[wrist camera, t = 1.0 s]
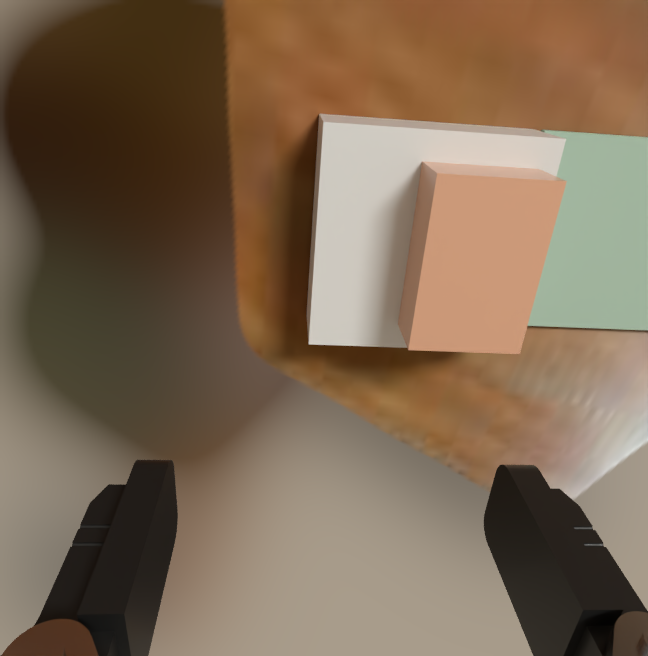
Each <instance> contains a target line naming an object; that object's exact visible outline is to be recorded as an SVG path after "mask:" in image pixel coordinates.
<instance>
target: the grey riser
mask: <svg viewBox="0 0 648 656" xmlns="http://www.w3.org/2000/svg"><path fill="white" fill-rule="evenodd" d="M565 142H566V139H565V138H562V137H558V136H555V135H551V134H548V133H545V132H541V131H538V130H535V129H525V128H511V127H497V126H483V125H469V124H455V123H441V122H427V121H413V120H399V119H385V118H371V117H357V116H343V115H329V114H319V124H318V139H317V155H316V171H315V187H314V203H313V219H312V235H311V251H310V267H309V283H308V299H307V329H308V343H309V344H312V345H341V346H370V347H399V348H407V346H406V343H405V341H404V338H403V336H402V333H401V331H400V329H399V326H398V319H399V313H400V306H401V299H402V293H403V286H404V279H405V273H406V266H407V259H408V253H409V246H410V239H411V232H412V226H413V219H414V212H415V206H416V199H417V192H418V186H419V179H420V172H421V166H422V161H425V162H440V163H456V164H471V165H487V166H502V167H517V168H533V169H540V170H543V171H545V172H547V173H549V174H552V175H554V176H557V172H558V169H559V165H560V161H561V157H562V153H563V150H564V146H565Z"/></svg>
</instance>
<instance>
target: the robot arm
mask: <svg viewBox="0 0 648 656" xmlns="http://www.w3.org/2000/svg"><path fill="white" fill-rule="evenodd" d="M177 518H178V513H177V499H176V487H175V475H174V464H173V461H172V460H137V461H136V462H135V463H134V466H133V468H132V471H131V474H130V476H129V479H128V481H127V484H126V485H108V486H107V487H106V488H105V489H104V490H103V491H102V492H101V493H100V494H99V495H98V496H97V497H96V498H95V499H94V500H93V501H92V502H91V503H90V504H89V507H88V509H87V511H86V513H85V516H84V518H83V520H82V522H81V526H80V529H78V531H77V533H76V536H75V538H74V540H73V544H72V547H70V549H69V551H68V554H67V556H66V558H65V561H64V563H63V565H62V567H61V569H60V572H59V574H58V576H57V578H56V581H55V583H54V585H53V588H52V590H51V592H50V594H49V596H48V599H47V601H46V603H45V605H44V608H43V610H42V612H41V615H40V617H39V618H38V620H37V622H36V624H35V625H34V626H33V627H32V628H30V629H28V630H27V631H25V632H24V633H22V634H21V635H20V636H19V637H17V638H16V639H15V640H14V641H13V642H12V643H11V644H10V645H9V646H8V647H7V649H6V650H5V651H4V653H3V654H2V655H1V656H148V654H149V650H150V646H151V642H152V637H153V633H154V629H155V625H156V620H157V616H158V612H159V607H160V603H161V599H162V595H163V590H164V586H165V582H166V577H167V573H168V569H169V565H170V561H171V556H172V552H173V548H174V543H175V538H176V532H177ZM484 531H485V536H486V540H487V543H488V546H489V548H490V550H491V553H492V555H493V558H494V560H495V562H496V565H497V568H498V570H499V573H500V575H501V577H502V580H503V582H504V585H505V587H506V590H507V592H508V595H509V597H510V599H511V602H512V604H513V607H514V609H515V612H516V614H517V617H518V619H519V622H520V624H521V626H522V629H523V631H524V634H525V636H526V638H527V641H528V644H529V646H530V648H531V651H532V653H533V655H534V656H648V611H647V610H646V608H645V607H644V605H643V603H642V602H641V600H640V599H639V597H638V596H637V594H636V593H635V591H634V590H633V588H632V586H631V585H630V583H629V582H628V580H627V579H626V577H625V576H624V574H623V573H622V571H621V569H620V568H619V566H618V565H617V563H616V562H615V560H614V559H613V557H612V556H611V554H610V552H609V551H608V549H607V548H606V547H604V546H603V542H602V540H601V539H600V537H599V535H598V534H597V533H596V531H595V530H593V529H592V525H591V523H590V522H589V520H588V519H587V517H586V515H585V514H584V512H583V511H582V509H581V508H580V506H579V505H578V504H576V503H575V502H574V501H573V500H572V499H571V498H569V497H568V496H567V495H566V494H565V493H564V492H563V491H561V490H560V489H550V487H549V485H548V484H547V482H546V481H545V479H544V477H543V476H542V474H541V472H540V471H539V469H538V468H537V467H536V466H534V465H500V466H499V467H498V468H497V471H496V474H495V478H494V481H493V485H492V488H491V492H490V496H489V500H488V503H487V507H486V510H485V515H484Z"/></svg>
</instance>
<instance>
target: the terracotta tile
mask: <svg viewBox="0 0 648 656" xmlns="http://www.w3.org/2000/svg"><path fill="white" fill-rule="evenodd" d="M566 182H567V181H565V180H563V179H560V178H558V177H556V176H554V175H552V174H549V173H547V172H545V171H543V170H540V169H533V168H517V167H502V166H487V165H471V164H456V163H440V162H425V161H422V166H421V172H420V179H419V186H418V192H417V199H416V206H415V212H414V219H413V226H412V232H411V239H410V246H409V253H408V259H407V266H406V273H405V279H404V286H403V293H402V299H401V306H400V313H399V319H398V326H399V329H400V331H401V333H402V336H403V338H404V341H405V343H406V346H407V348H408V350H419V351H448V352H477V353H506V354H520V351H521V347H522V344H523V340H524V336H525V333H526V329H527V325H528V322H529V318H530V314H531V311H532V307H533V303H534V300H535V296H536V292H537V289H538V285H539V281H540V278H541V274H542V270H543V267H544V263H545V259H546V256H547V252H548V248H549V245H550V241H551V237H552V234H553V230H554V226H555V223H556V219H557V215H558V212H559V208H560V204H561V201H562V197H563V193H564V190H565V186H566Z"/></svg>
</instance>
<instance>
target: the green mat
mask: <svg viewBox="0 0 648 656" xmlns="http://www.w3.org/2000/svg"><path fill="white" fill-rule="evenodd" d="M541 132H545V133H548V134H551V135H555V136H558V137H562V138H565V139H566V142H565V146H564V150H563V153H562V157H561V161H560V165H559V169H558V172H557V176H556V177H558V178H560V179H563V180H565V181H567V182H566V186H565V190H564V193H563V197H562V201H561V204H560V208H559V212H558V215H557V219H556V223H555V226H554V230H553V234H552V237H551V241H550V245H549V248H548V252H547V256H546V259H545V263H544V267H543V270H542V274H541V278H540V281H539V285H538V289H537V292H536V296H535V300H534V303H533V307H532V311H531V314H530V318H529V322H528V325H527V326H548V327H574V328H600V329H625V330H648V137H637V136H623V135H609V134H595V133H581V132H567V131H553V130H542V131H541Z"/></svg>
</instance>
